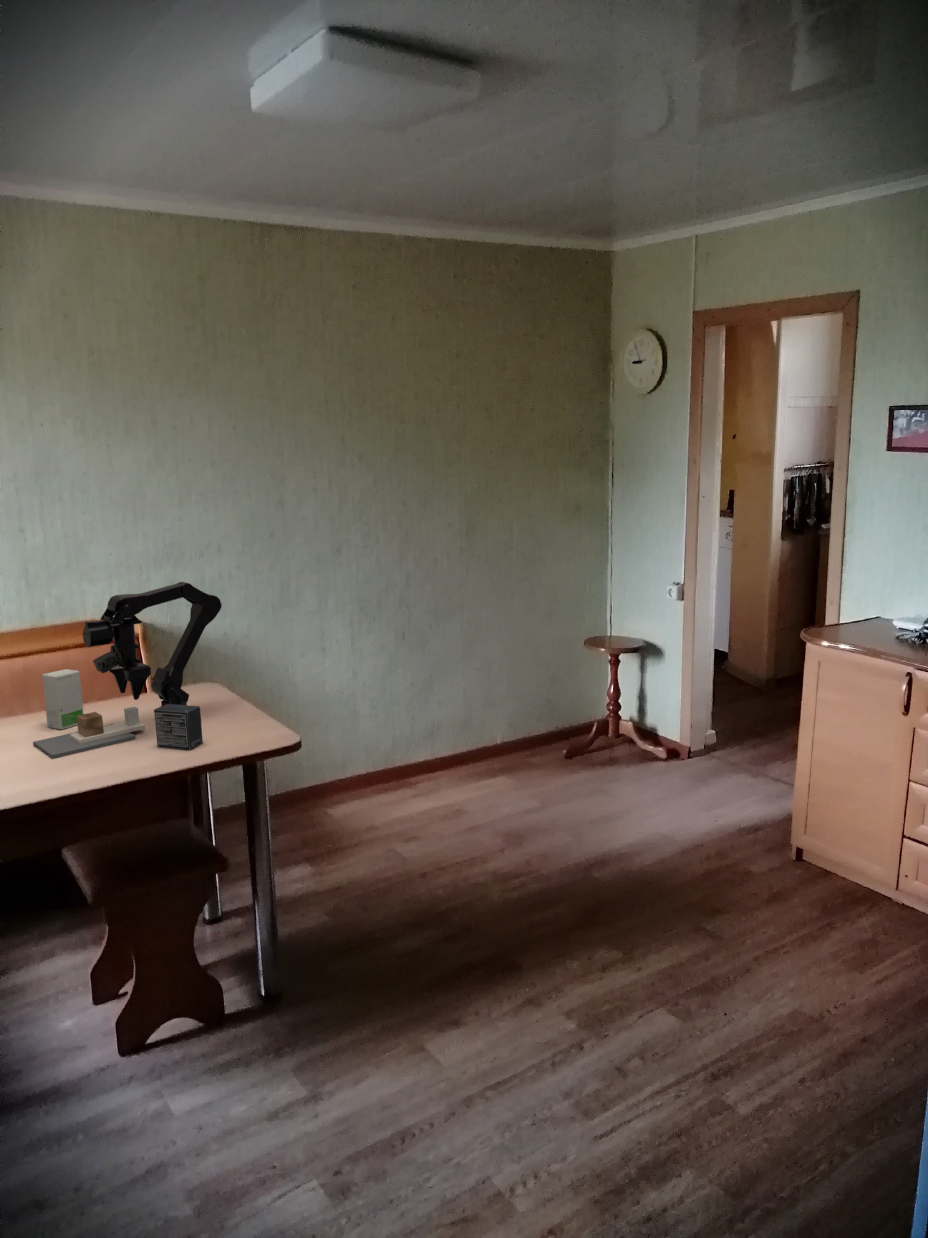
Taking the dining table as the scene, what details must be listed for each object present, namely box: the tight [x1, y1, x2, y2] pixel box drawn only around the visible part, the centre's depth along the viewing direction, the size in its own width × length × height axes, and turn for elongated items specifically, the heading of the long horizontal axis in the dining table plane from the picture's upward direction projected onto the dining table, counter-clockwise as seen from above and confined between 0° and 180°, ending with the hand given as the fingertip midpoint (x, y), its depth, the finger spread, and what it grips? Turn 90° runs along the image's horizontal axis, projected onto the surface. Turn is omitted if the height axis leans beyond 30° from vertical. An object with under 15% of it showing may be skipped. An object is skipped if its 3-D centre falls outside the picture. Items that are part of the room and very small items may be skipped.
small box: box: [153, 704, 204, 751], centre depth 255 cm, size 11×6×10 cm, turn 71°
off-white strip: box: [69, 706, 146, 744], centre depth 264 cm, size 18×7×6 cm, turn 131°
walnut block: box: [77, 711, 104, 738], centre depth 261 cm, size 5×5×5 cm
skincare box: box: [41, 668, 85, 731], centre depth 275 cm, size 8×7×16 cm
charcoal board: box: [32, 723, 136, 760], centre depth 260 cm, size 22×15×1 cm
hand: (129, 696), depth 267 cm, fingers open, 9 cm apart
